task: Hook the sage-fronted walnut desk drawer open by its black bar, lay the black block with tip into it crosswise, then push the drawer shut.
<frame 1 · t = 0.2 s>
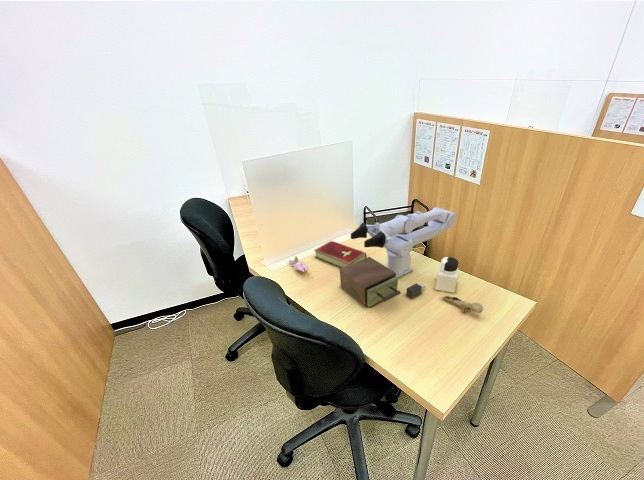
hand: (357, 240, 100), 21 cm above the table, tool horizontal, fingers open, 7 cm apart
cabinet: (367, 289, 112), on the table
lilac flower: (299, 269, 126), on the table
figurine: (461, 308, 102), on the table
ball on square pedestal: (445, 286, 113), on the table
black block with tip: (413, 294, 109), on the table
hardcover book: (340, 259, 132), on the table
drawer: (375, 286, 107), point 4 cm above the table, slide at 0.5 cm
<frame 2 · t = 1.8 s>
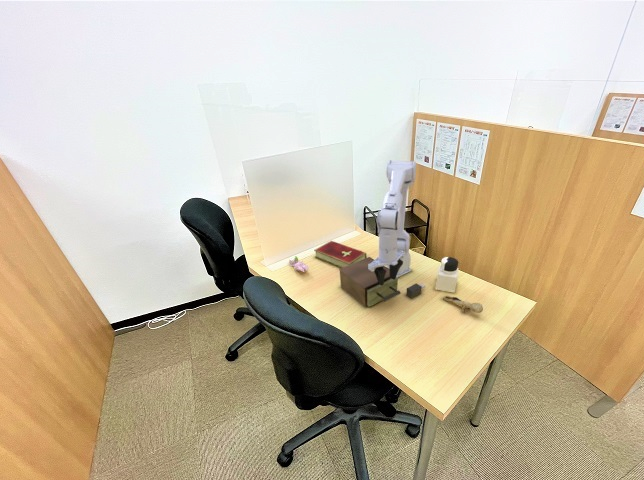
hand: (386, 281, 99), 10 cm above the table, tool pointing down, fingers open, 5 cm apart
nothing on the table moved.
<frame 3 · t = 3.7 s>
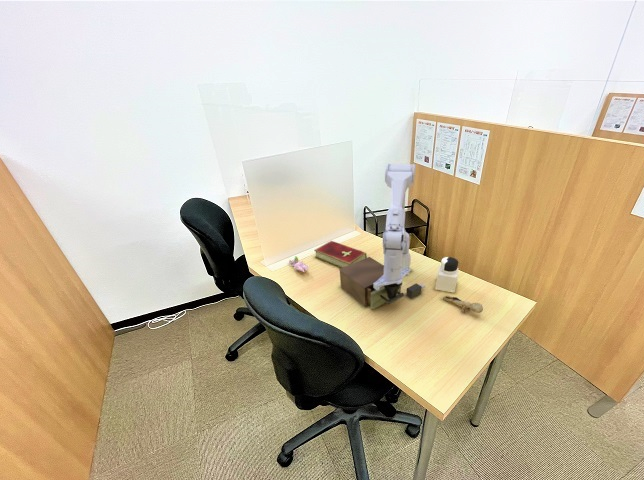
hand: (391, 298, 101), 4 cm above the table, tool pointing down, fingers closed, pressing on drawer
drawer: (378, 288, 105), point 4 cm above the table, slide at 2.4 cm, touching gripper
everything else where it was.
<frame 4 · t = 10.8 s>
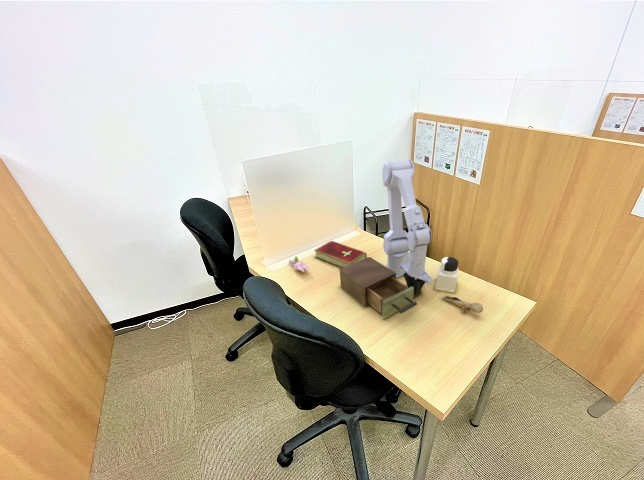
hand: (413, 291, 108), 1 cm above the table, tool pointing down, fingers closed on black block with tip, 3 cm apart
black block with tip: (413, 294, 109), on the table, touching gripper
drawer: (389, 296, 101), point 4 cm above the table, slide at 8.5 cm
everything else where it was.
when the fingers open (3 cm above the table, at t = 15.7 s): black block with tip stays where it is, resting on drawer.
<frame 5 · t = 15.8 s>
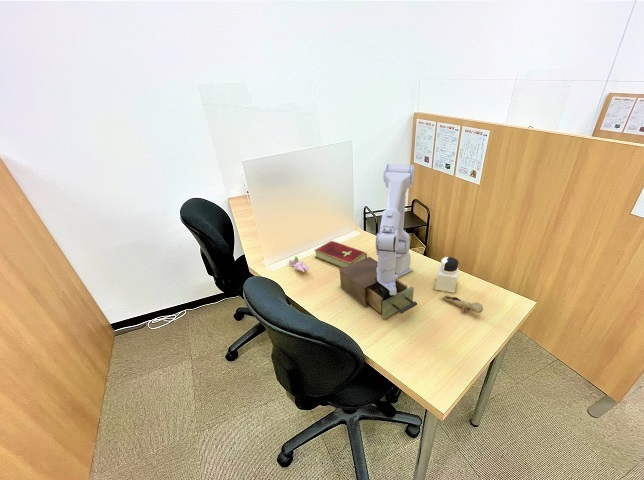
hand: (385, 299, 102), 3 cm above the table, tool pointing down, fingers open, 3 cm apart
black block with tip: (385, 302, 102), point 2 cm above the table, touching drawer
drawer: (389, 296, 101), point 4 cm above the table, slide at 8.6 cm, touching black block with tip
everything else where it was.
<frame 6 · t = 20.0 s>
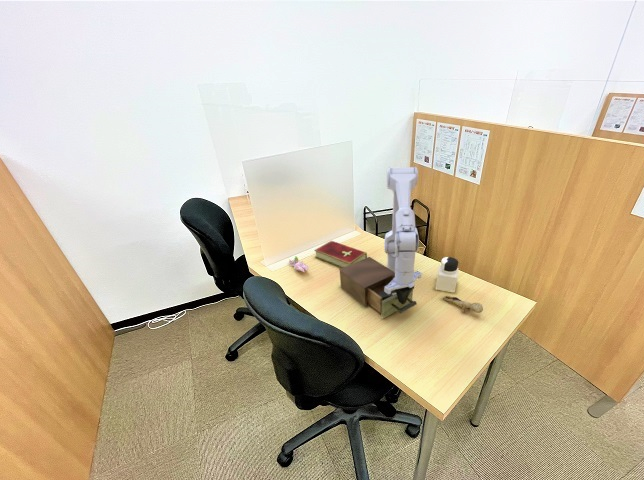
hand: (402, 302, 96), 6 cm above the table, tool pointing down, fingers closed, pressing on drawer
drawer: (389, 296, 101), point 4 cm above the table, slide at 8.3 cm, touching gripper, black block with tip
everything else where it was.
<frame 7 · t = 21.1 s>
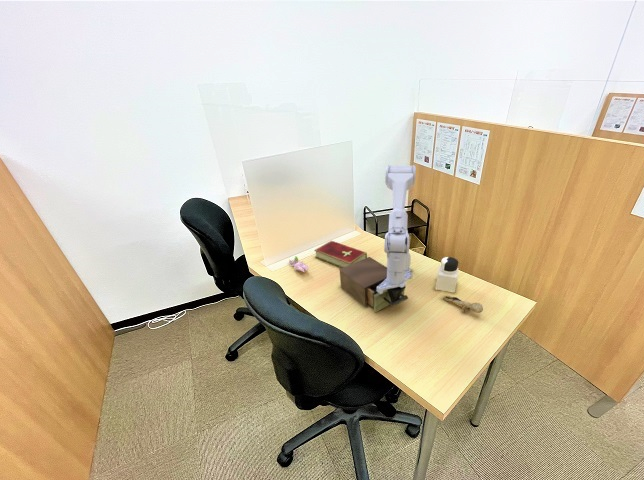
hand: (394, 301, 100), 3 cm above the table, tool pointing down, fingers closed, pressing on drawer
black block with tip: (377, 296, 105), point 2 cm above the table, touching drawer
drawer: (381, 290, 104), point 4 cm above the table, slide at 4.1 cm, touching gripper, black block with tip
everything else where it was.
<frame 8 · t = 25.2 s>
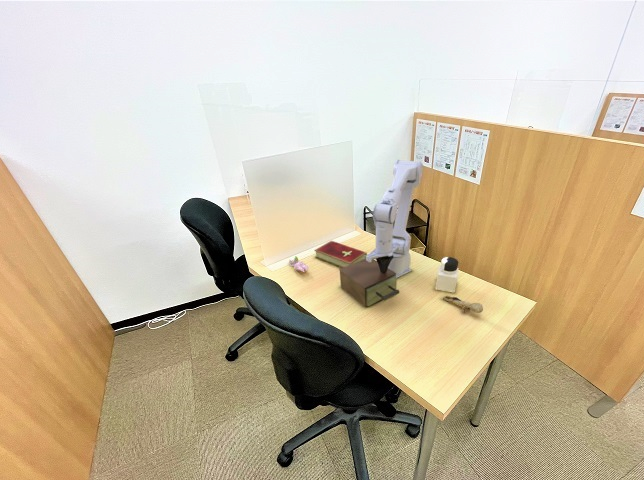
hand: (383, 271, 106), 9 cm above the table, tool pointing down, fingers closed
black block with tip: (368, 289, 109), point 2 cm above the table, touching drawer
drawer: (374, 285, 107), point 4 cm above the table, slide at 0.0 cm, touching cabinet, black block with tip
everything else where it was.
at the end: drawer pulled out 8.6 cm at the most during the clip, back to where it started at the end; black block with tip inside the target area in the cabinet (2.4 cm from its centre), point 2.0 cm above the cabinet's base; drawer slide at 0.0 cm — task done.
